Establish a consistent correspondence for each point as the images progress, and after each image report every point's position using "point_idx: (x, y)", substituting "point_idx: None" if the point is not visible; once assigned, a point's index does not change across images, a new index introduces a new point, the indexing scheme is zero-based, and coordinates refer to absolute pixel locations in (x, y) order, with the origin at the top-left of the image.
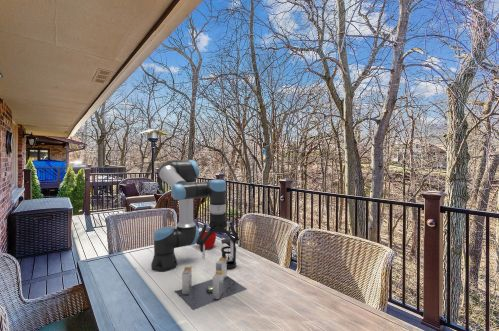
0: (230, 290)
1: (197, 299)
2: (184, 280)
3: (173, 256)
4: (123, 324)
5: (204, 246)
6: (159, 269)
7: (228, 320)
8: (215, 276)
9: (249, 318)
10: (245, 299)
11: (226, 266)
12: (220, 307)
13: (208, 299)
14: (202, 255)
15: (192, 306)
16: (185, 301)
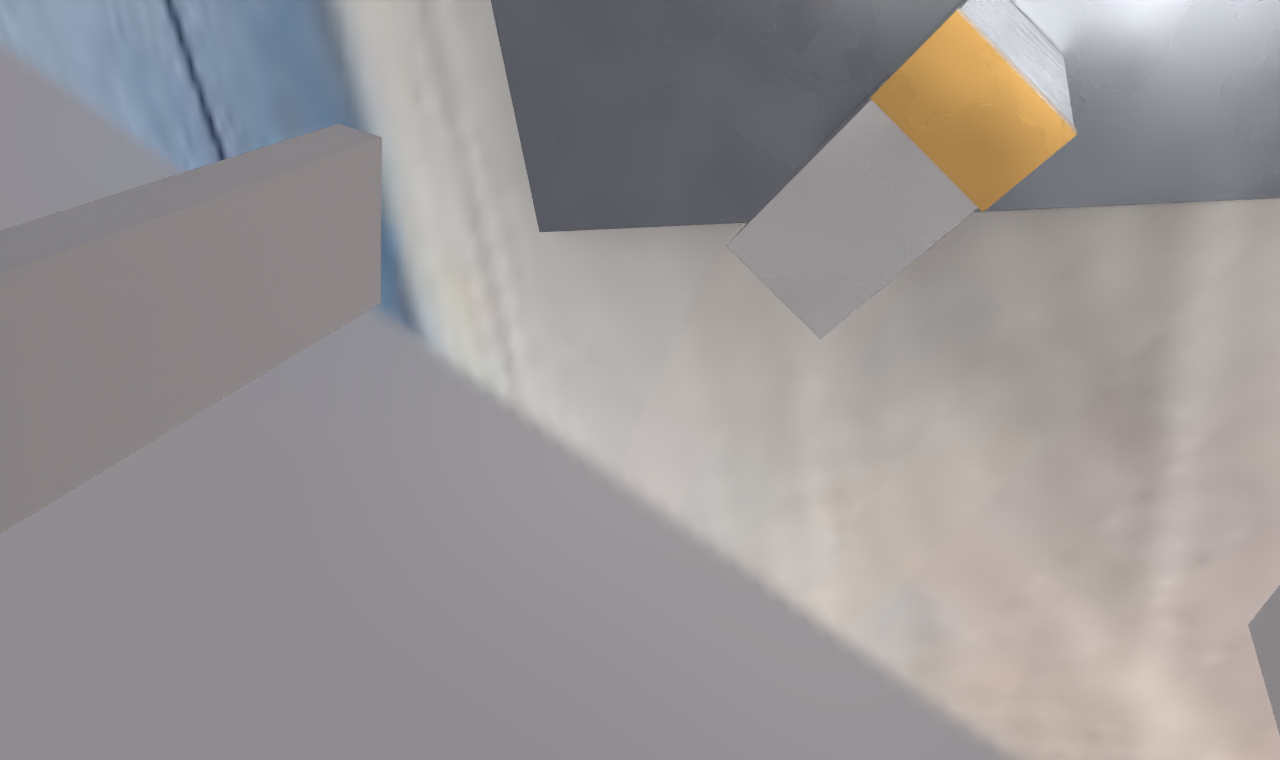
0: (1213, 58)
1: (640, 42)
2: None
3: None
4: (44, 49)
5: (3, 519)
6: None
7: (803, 525)
8: (800, 226)
9: (996, 627)
10: (1257, 349)
11: None
12: None
13: (766, 122)
14: (294, 148)
15: (549, 164)
16: (501, 6)
